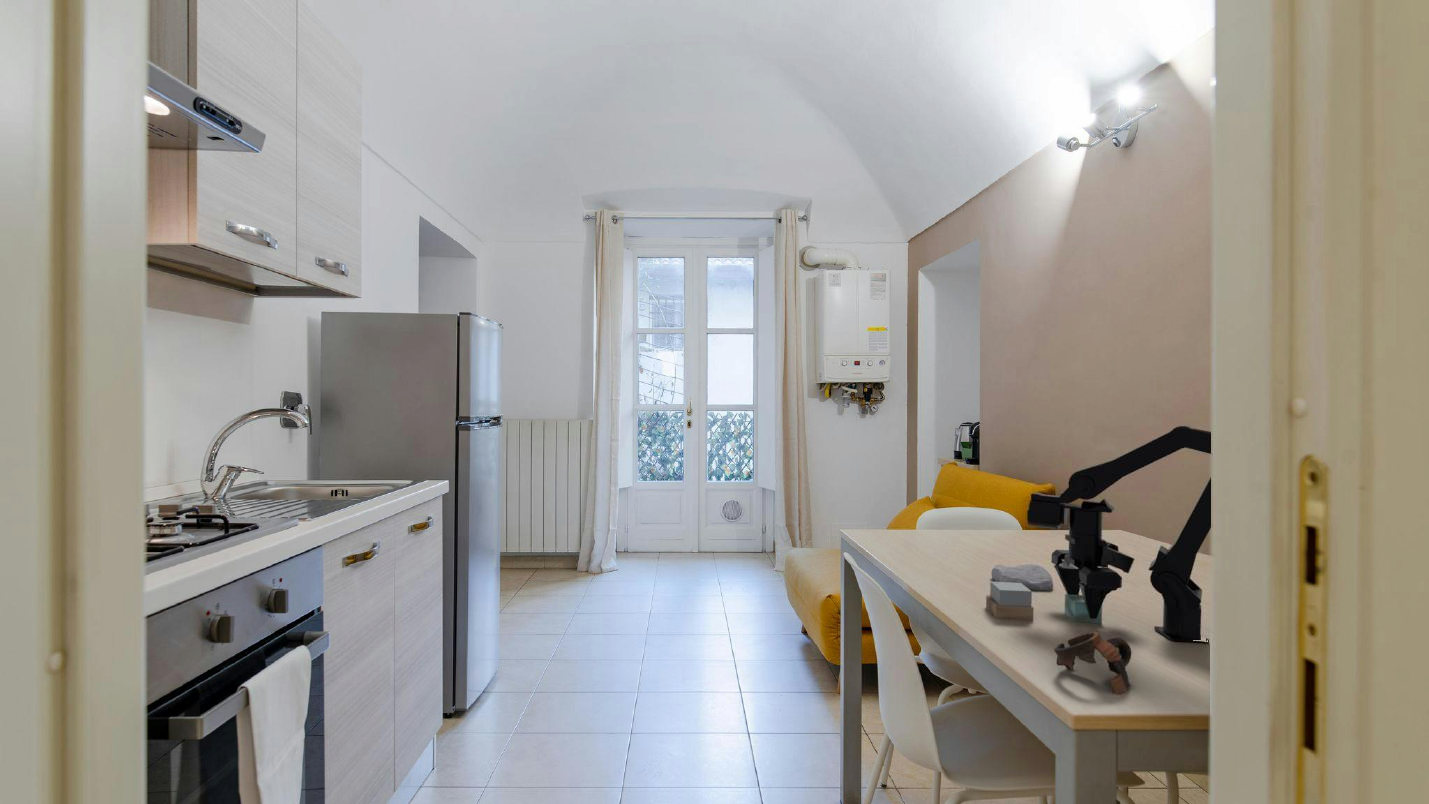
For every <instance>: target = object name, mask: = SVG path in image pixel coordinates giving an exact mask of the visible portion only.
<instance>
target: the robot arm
mask: <svg viewBox="0 0 1429 804" xmlns="http://www.w3.org/2000/svg"><path fill="white" fill-rule="evenodd" d="M1211 432H1212V431H1209V430H1203V429H1200V428H1194V427H1191V426H1188V425H1178V426H1176V427H1174V428H1173V429H1172V430H1170V431H1168V432H1167V433H1165V434H1163V435H1160V436H1158V437H1157V438H1155V439H1153V440H1151V441H1149V442H1147V443H1144V444H1143V445H1140V446H1138V447H1136V448H1134V449H1132V450H1131V451H1128V452H1126V453H1124V454H1122V455H1120V456H1118V457H1116V458H1114V459H1112V460H1107V461H1105V462H1101V463H1097V464H1094V465H1090V466H1088V467H1085V468H1082V469H1081V468H1080V469H1079V470H1077V471H1075V472H1073V473H1072V474H1071V476H1069V478H1068V487H1067V488H1066V489H1065V490H1064V491H1063V492H1061V493H1060V495H1052V494H1043V493H1040V492H1032V493H1031V494H1030V500H1029V504H1028V509H1027V511H1026V513H1027V515H1026V520H1027V524H1028V526H1031V527H1039V528H1046V529H1056V530H1060V529H1061V526H1062V525H1064V526H1066V525H1067V524H1068V525H1069V527H1068V528H1069V529H1068V534H1067V533H1066V534H1064V535H1065V536H1064V540H1066V541H1068V549H1067V550H1066V549H1055V550H1054V551H1053V552H1052V553H1051V561H1050V562H1051V563H1052V564H1054V565H1053V568H1054V569H1055V570H1056V573H1057V575H1058V577H1059V579H1060V581H1061V583H1062V586H1063V588H1064V591H1065V593H1066V594H1068V595H1080V591H1081V595H1083V598H1084V601H1085V605H1086V608H1087V611H1088V614H1089V617H1090V618H1091V619H1096V618H1097V616H1098V614H1099V611H1100V609H1101V606H1102V607H1103V603H1104V601H1105V599H1106V597H1107V595H1108V594H1110V593H1112V592H1113V591H1117V590H1118V589H1122V587H1123V576H1121V575H1120V574H1119V573H1118V572H1116V571H1115V570H1113V569H1112V568H1110V567H1113V568H1116V569H1119V570H1121V571H1122V573H1123V572H1124V573H1125V574H1130V572H1131V568H1132V566H1133V564H1134V562H1135V558H1134V557H1132V556H1131V555H1128V554H1126V553H1123V552H1121V551H1119V546H1118V545H1116V544H1114V543H1112V542H1109V541H1107V540H1106V539H1104V538H1103V513H1107V514H1111V513H1113V512H1114V511H1115V507H1114V506H1112V505H1111V504H1110V503H1109V501H1108V500H1107V499H1106V498H1102V500H1101V501H1099V502H1098V501H1089V500H1091V499H1094V498H1096V497H1097V496H1099V495H1100V494H1102V493H1103V492H1104V491H1105V490H1107V489H1109V488H1110V487H1111V486H1113V485H1114V484H1116V483H1117V482H1118V481H1119V480H1121V479H1123V477H1126V476H1128V475H1131V474H1132V473H1134V472H1136V471H1138V470H1140V469H1143V468H1144V467H1147V466H1149V465H1151V464H1153V463H1155V462H1157V461H1160V460H1161V459H1163V458H1165V457H1167V456H1170V455H1171V454H1174V453H1176V452H1178V451H1180V450H1182V449H1189V450H1192V451H1193V450H1194V451H1196V452H1197V451H1198V452H1201V453H1205V454H1209V455H1210V454H1211ZM1211 455H1212V454H1211ZM1079 499H1081V500H1082V502H1081V504H1074V502H1075V501H1077V500H1079ZM1072 502H1073V503H1072ZM1068 509H1069V511H1068ZM1068 512H1069V513H1068ZM1068 514H1069V515H1068ZM1068 516H1069V523H1068ZM1211 528H1212V527H1211V476H1210V478H1209V479H1208V481H1207V483H1206V485H1205V486H1204V487H1203V490H1202V492H1201V494H1200V496H1199V497H1198V500H1197V501H1196V503H1195V505H1194V507H1193V509H1192V510H1191V513H1190V514H1189V516H1188V517H1187V520H1186V521H1185V524H1184V526H1183V527H1182V529H1181V531H1180V533H1179V535H1178V537H1177V539H1176V541H1175V542H1173V544H1172V545H1171V546H1170V547H1169V548H1167V547H1165V546H1163V545H1160V547H1159V549H1158V551H1157V555H1156V558H1155V559H1153V560H1152V561H1151V563H1150V565H1149V567H1148V571H1151V573H1150V576H1149V579H1150V583H1151V586H1152V587H1153V589H1154V590H1155V591H1156V592H1158V593H1159V594H1160V595H1161V596H1162V600H1163V608H1162V609H1163V610H1162V611H1163V612H1162V614H1163V615H1162V626H1156V625H1155V626H1154V628H1153V629H1154V630H1155V631H1157V633H1159V634H1161V635H1162V636H1164V637H1166V638H1167V639H1169V640H1170V641H1173V642H1186V641H1193V640H1201V635H1202V633H1201V632H1202V604H1201V603H1202V596H1203V589H1202V588H1201V587H1200V586H1199V585H1198V584H1197V583H1196V582H1195V581H1194V580H1193V579H1191V575H1192V572H1193V569H1194V565H1195V561H1196V558H1197V555H1198V552H1199V551H1200V548H1201V547H1202V545H1203V544H1204V541H1205V540H1206V537H1207V536H1208V534H1209V533H1210V530H1211ZM1109 566H1110V567H1109ZM1207 640H1208V643H1209V640H1210V639H1209V638H1207V637H1206V641H1207ZM1209 644H1210V643H1209Z"/></svg>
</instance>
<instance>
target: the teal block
mask: <svg viewBox="0 0 1429 804" xmlns="http://www.w3.org/2000/svg"><path fill="white" fill-rule="evenodd" d="M1064 614H1065V615H1066V616H1067V617H1068V618H1069V619H1070V620H1072V621H1073V622H1075V623H1076V622H1077V623H1093V624H1096V623H1097V624H1102V623H1103V622H1102V620H1103V605H1102V606H1101V609H1100V611H1099V614H1098V616H1097V618H1096V619H1091V618H1090V617H1089V614H1088V611H1087V608H1086V605H1085V601H1084V598H1083V595H1082V594H1079V595H1068V594H1067V593H1066V594H1064Z"/></svg>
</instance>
